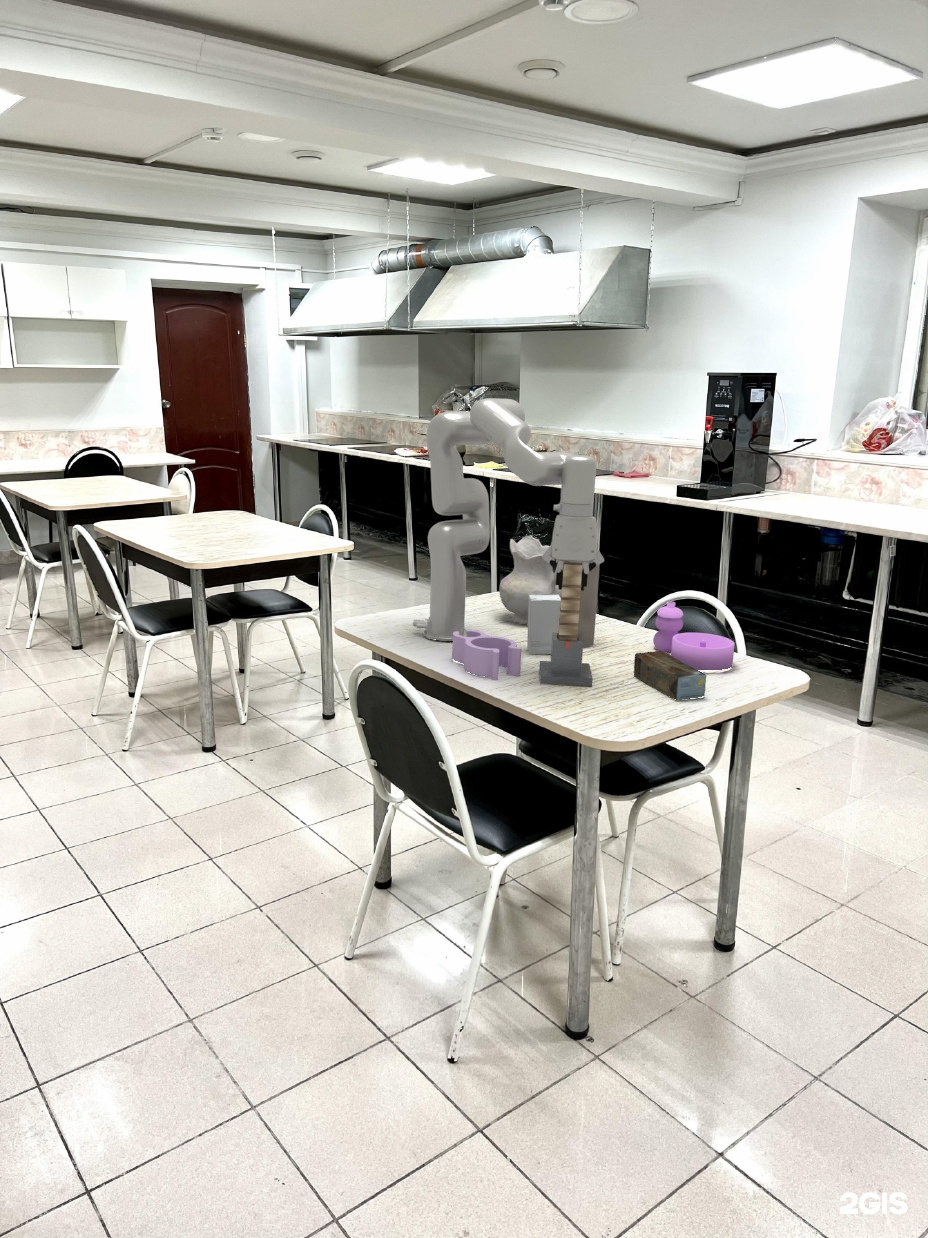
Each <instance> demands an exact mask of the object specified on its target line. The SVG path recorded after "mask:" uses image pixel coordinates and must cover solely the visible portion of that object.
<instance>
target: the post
mask: <svg viewBox="0 0 928 1238" xmlns="http://www.w3.org/2000/svg"><path fill="white" fill-rule="evenodd" d="M562 571H563V580H562V589H561V603H560V618H559V630H558V639H562V640H577V638H578V626H579V622H578V620H579V612H580V610H579V606H580V592H581V578H582V563H581V562H572V561H564V562H563V569H562Z"/></svg>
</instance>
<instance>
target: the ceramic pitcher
mask: <svg viewBox="0 0 928 1238" xmlns="http://www.w3.org/2000/svg"><path fill="white" fill-rule="evenodd" d="M521 537H522V538H521V539H520V540H519V541H518V542H516V541H515V539H513V538H510V541H509V550H510V553H511V555H512V557H513V565H514V567H513V569H512V571H511V572H510V573H509V574H508V575H506V576H505V577H504V578H502V579H501V581H500V584H499V587H498V588H499V596H500V600H501V603H502V605H503V606H504V608H505V609H506V610H508V612H511V613H513V615H512V617H511V621H512V622H514V623H515V624H523V625H528V599H529V595H559V597H560V598H561V590H559V588H558V585H556V570H553V569H554V568H553V567H552V566H551V565H550V564H549V563H548V562H546V561H545V560H544V559H543V558H542V555H543V554H544V553H545V552H546V550H547V549H548V548H549V547H550V545H551V544H552V542H550V545H547V544H546V545H545V544H544V545H543V544H542V543H541V541H540V539H539V538H535V537H533V536H531V535H525V536H521ZM550 557H551V558H552V559H553V560H554V561H555V562H556V563H557V561H558V560H556V559H554V558H553V557H552V553H551V555H550ZM562 570H563V566H562Z"/></svg>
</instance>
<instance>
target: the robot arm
mask: <svg viewBox="0 0 928 1238" xmlns="http://www.w3.org/2000/svg"><path fill="white" fill-rule="evenodd" d="M525 420H526V413H525V411H524V408H523V406H522V405H521V404H520V403H519V402H518V401H517V400H514V399H511V398H493V397H488V398H482V399H479V400H478V401H476V402H475V403H474V404H473V405H471V408H470V411H463V410H455V411H453V410H450V411H443V412H440V413H438V414H436V415H434V416H433V417H432V419H431V420H430V422H429V423H428V425H427V429H426V435H425V437H426V438H425V439H426V440H425V441H426V447H427V451H428V455H429V457H428V458H429V463H430V482H431V485H430V486H431V501H432V502H431V503H432V508H433V510H434V512H436V513H437V514H438V515H441V516H461V515H462V519H452V520H444V521H439V522H437V523H435V524H434V525H433V526H432V527H431V528H430V529H429V531H428V535H427V543H428V550H429V557H430V593H429V594H430V597H429V617H428V618H425V619H424V620H421V619H413V624H412V626H413V627H414V628H415V627H416V629H424V630H423V634H424V635H423V637H424V636H426V637H427V638H426V637H425V638H426V639H428V638H430V639H436V640H441V641H440V642H442V641H453V632H455V631H457V632H460V635H461V636H465V637H466V632H467V630H468V629H466V628H465V620H466V619H465V618H466V617H465V615H466V614H465V613H466V589H467V588H466V587H467V571H466V568H465V565H464V563H463V561H462V557H461V556H468V555H474V554H479V553H483V552H484V551H485V550H486V549H487V547H488V546H489V542H490V538H491V537H490V535H491V533H490V530H491V529H490V528H491V527H490V525H491V524H490V501H489V493H488V490H487V488H486V486H485V485H484V483H483V482H482V481H481V480H479V479H478V478H477V479H476V478H473V477H471V478H468V477H467V478H465V477H464V464H463V463H464V462H463V459H462V457H461V455H460V452H459V451H458V450H457V448H456V447H455V446H473V445H474V446H480V445H481V446H482V445H487V444H490V443H491V444H492V443H493V444H494V445H495V446H496V447H498V448H499V449H500V450H501V451H502V457H503V459H504V463H505V465H506V467H507V468H508V469H509V470H510V472H512V473H513V474H514V476H515V475H516V477H517V478H518V479H520V480H522V481H523V482H525V483H526V484H528V485H531V486H535V487H538V486H539V487H541V486H542V487H543V486H559V485H560V486H561V488H560V501H559V503H558V504H553V511H556V512H558V513H559V514H558V515H556V518H555V519H554V520H555V521H554V527H553V530H552V536H551V537H552V538H551V543H552V544H551V543H550V545H549V546H550V547H549V548H548V549H547V550H546V552H545V553H544V554H543V555H542V558H543V559H544V560H545V561H546V562H548V563H549V564H550V565H551V566H552V569H554V571H556V585H558V588H559V590H561V589H562V580H563V569H562V566H563V562H564V561H579V562H582V564H583V570H582V578H581V591H584V587H587V577H588V573H589V572H590V571H591V570H592V569H594V568H595V567H596V566H597V565H599V564H602V563H604V562H605V558H604V556H603V555H602V554H601V552H600V550H599V548H598V547H597V546H598V530H597V529H598V526H597V518H596V517H595V516H594V502H595V500H594V499H595V489H596V474H597V461H596V458H594V457H592V456H589V455H577V454H572V453H570V452H566V451H543V452H542V451H541V452H537V451H535V450H533V449H532V448H530V447H529V446H528V444H529V442H530V439H531V436H532V435H531V434H532V433H531V428H530V426H529V425H528V424H527V423H526V422H525ZM551 553H552V557H553V558H554V559H555V560H553V559H552V558H551V557H550V555H551ZM596 557H597V558H596ZM595 558H596V560H595ZM556 560H558V561H557V563H556ZM593 560H594V561H593ZM591 561H592V562H591ZM588 562H591V563H590V564H588ZM430 639H429V640H430Z"/></svg>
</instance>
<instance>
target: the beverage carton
mask: <svg viewBox="0 0 928 1238" xmlns="http://www.w3.org/2000/svg"><path fill="white" fill-rule="evenodd" d="M633 665H634V666H633V676H634V677H635V678H637V679H639V680H640V681H642V682H644V683H645V684H647V685H648V686H650V687H652V688H653V689H655V688H656V689H655V690H657V691H658V692H660V691H661V692H660V693H662V694H664V695H665V694H666V695H665V696H667V697H669V696H670V697H669V698H671V699H673V698H674V699H676V700H682V699H690V698H698V697H702V696H705V693H706V683H707V675H706V673H702V672H700V671H698V670H696V669H695V668H693V667H691V666H689V665H687V664H686V663H684V662H682V661H680V660H678V659H676V658H675V657H673V656H671V654H669V653H667V652H663V651H658V650H656V651H645V652H636V653H634V664H633ZM674 699H673V700H674ZM676 700H675V701H676ZM682 701H683V700H682Z"/></svg>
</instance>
